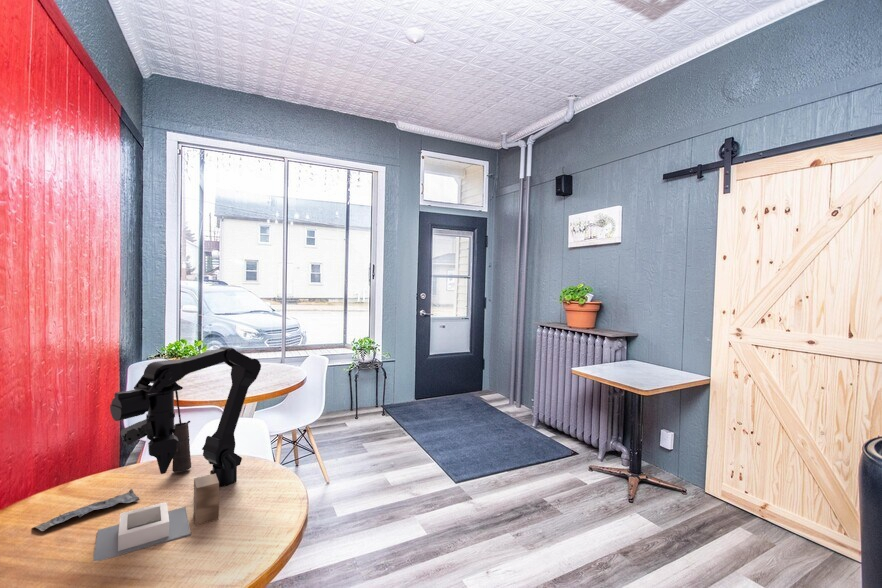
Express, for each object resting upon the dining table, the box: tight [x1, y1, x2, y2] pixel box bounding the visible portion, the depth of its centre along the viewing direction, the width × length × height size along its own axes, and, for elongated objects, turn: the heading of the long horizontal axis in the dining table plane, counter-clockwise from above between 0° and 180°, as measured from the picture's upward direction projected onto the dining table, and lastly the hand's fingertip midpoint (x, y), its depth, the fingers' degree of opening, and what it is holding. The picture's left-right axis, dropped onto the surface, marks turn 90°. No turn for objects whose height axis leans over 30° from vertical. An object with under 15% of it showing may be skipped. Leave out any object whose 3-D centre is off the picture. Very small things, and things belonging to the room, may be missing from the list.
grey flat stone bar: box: [33, 488, 140, 532], centre depth 105 cm, size 21×7×2 cm, turn 144°
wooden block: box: [193, 473, 220, 526], centre depth 105 cm, size 5×6×10 cm
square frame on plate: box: [92, 501, 192, 562], centre depth 97 cm, size 18×14×4 cm
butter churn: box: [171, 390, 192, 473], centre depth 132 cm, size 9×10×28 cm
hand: (161, 466), depth 108 cm, fingers open, 9 cm apart
